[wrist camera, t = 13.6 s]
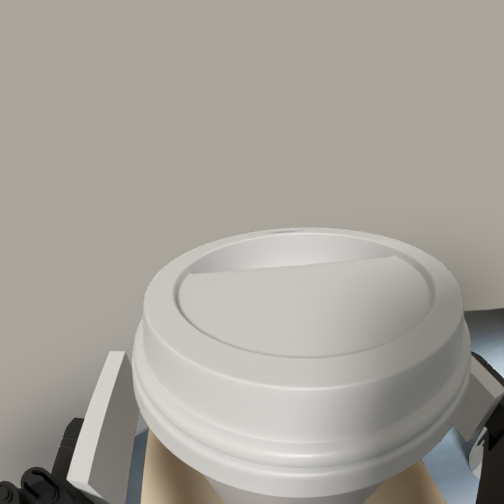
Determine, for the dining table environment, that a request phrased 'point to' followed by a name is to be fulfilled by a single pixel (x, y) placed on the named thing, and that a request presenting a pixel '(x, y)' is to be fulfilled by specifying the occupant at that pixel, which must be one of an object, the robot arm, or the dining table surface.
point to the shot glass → (477, 456)
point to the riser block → (207, 500)
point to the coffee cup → (301, 362)
